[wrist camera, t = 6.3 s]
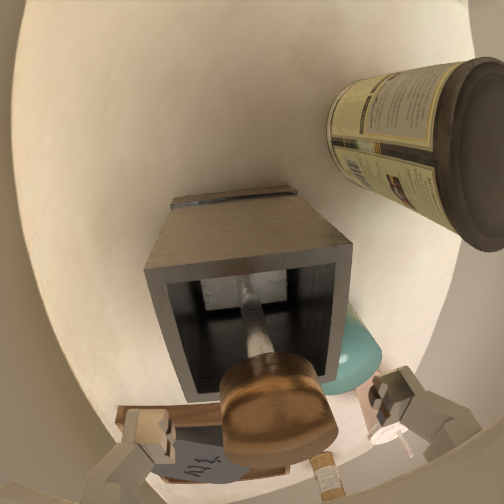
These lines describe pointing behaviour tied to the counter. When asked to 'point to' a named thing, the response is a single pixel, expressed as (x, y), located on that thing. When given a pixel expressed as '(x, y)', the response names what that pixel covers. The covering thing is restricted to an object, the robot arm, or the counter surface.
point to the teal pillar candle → (354, 356)
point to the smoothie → (374, 428)
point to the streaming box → (201, 457)
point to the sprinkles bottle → (327, 477)
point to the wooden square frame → (195, 418)
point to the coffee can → (429, 144)
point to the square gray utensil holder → (241, 263)
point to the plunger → (267, 384)
